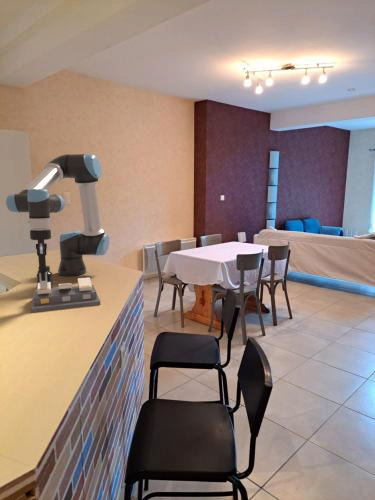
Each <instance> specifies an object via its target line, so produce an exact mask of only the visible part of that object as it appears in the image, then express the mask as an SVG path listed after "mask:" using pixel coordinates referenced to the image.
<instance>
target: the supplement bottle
mask: <svg viewBox="0 0 375 500" xmlns="http://www.w3.org/2000/svg"><path fill="white" fill-rule="evenodd" d="M37 269H38V270H37V271H39V266H38V267H37ZM46 269H48V271H47V282H51V289H52V288H54V280H53V279H54V278H53V272H52V271H51V268H50V265H46ZM35 277H36V289H37V288H38V283H40V277H39V273H37V272H36V275H35Z"/></svg>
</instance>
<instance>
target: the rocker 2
mask: <svg viewBox="0 0 375 500" xmlns="http://www.w3.org/2000/svg"><path fill="white" fill-rule="evenodd" d="M72 287H73V284H72V283H71V282H67V283H58V286H57V288H59V289H65V288H72Z"/></svg>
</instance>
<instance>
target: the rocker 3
mask: <svg viewBox="0 0 375 500" xmlns="http://www.w3.org/2000/svg"><path fill="white" fill-rule="evenodd" d="M92 285H93V284H92V281H91V277H90V276H89V277H79V278H77V286H79V290H80V291H88V290H92Z"/></svg>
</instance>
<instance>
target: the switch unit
mask: <svg viewBox="0 0 375 500" xmlns="http://www.w3.org/2000/svg"><path fill="white" fill-rule="evenodd" d="M96 290H97V289H96V288H95V286H94V284H92V290H88V291H80V290H79V285H77V286H74V285H72V288H65V289H59V287H53V288H52V289H51V293H44V294H38V292H37V289H34V293H33V296H32V298H31V304H30V305H31V306H30V312H31V313H37V312H38V313H39V312H47V311H48V312H49V311H56V310H64V309H75V308H81V307H91V306H92V307H93V306H101V299H100V298H99V295H98V293H97V291H96Z"/></svg>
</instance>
